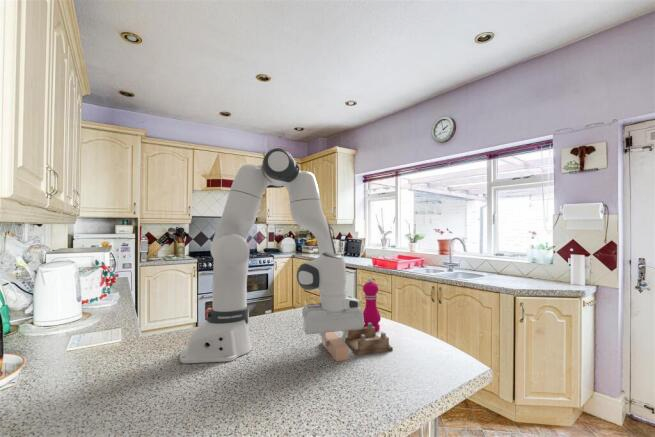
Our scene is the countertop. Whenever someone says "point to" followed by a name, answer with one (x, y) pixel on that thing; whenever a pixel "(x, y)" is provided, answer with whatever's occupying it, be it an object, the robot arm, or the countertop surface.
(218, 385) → the countertop surface
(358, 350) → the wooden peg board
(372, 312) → the pepper mill
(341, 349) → the peach rectangular block
